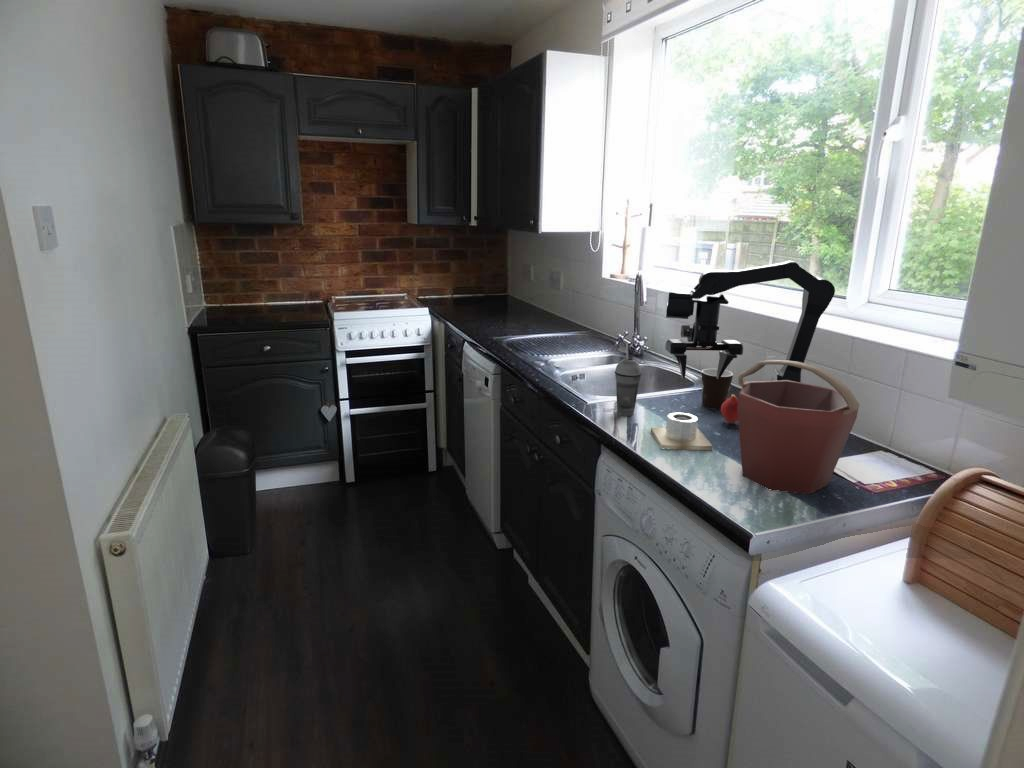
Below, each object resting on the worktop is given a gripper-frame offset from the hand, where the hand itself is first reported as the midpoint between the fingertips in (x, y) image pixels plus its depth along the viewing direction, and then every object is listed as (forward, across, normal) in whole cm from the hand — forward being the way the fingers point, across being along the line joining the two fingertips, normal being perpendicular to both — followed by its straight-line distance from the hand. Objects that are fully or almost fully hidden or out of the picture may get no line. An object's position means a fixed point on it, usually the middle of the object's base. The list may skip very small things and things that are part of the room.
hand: (700, 378), depth 163 cm
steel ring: (+11, +8, +14) cm, 19 cm away
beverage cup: (+12, +18, -6) cm, 23 cm away
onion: (+12, -9, +1) cm, 15 cm away
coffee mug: (+12, -10, -15) cm, 22 cm away
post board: (+12, +8, +14) cm, 20 cm away
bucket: (+12, -9, +34) cm, 37 cm away
